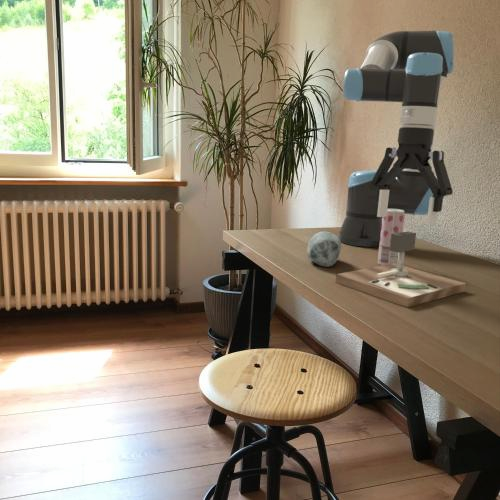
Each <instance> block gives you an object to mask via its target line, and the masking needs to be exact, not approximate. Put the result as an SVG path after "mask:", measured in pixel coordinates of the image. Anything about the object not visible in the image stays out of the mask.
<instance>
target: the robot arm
mask: <svg viewBox="0 0 500 500" xmlns="http://www.w3.org/2000/svg"><path fill="white" fill-rule="evenodd" d="M454 47H455V45H454V36H453V34H452V33H451V32H450V31H448V30H447V31H446V30H445V31H444V30H443V31H442V30H436V29H435V30H409V31H408V30H407V31H406V30H399V31H393V32H389V33H387V34H384V35H381V36H379V37H378V38H377V39H375V40H373V41H372V42H371V43H370V44H369V45H368V47H367V48H366V51H365V54H364V61H363V63H362V64H361V66H360V68H359V67H354V68H348V69H346V71H345V73H344V77H343V85H342V86H343V87H342V93H343V97H344V99H345V100H347V101H356V102H385V103H387V102H389V103H391V102H392V103H401V111H400V120H399V124H400V125H401V126H402V127H400V128H399V129H398V133H397V134H398V135H397V144H398V146H397V148H396V147H390V146H389V147H386V149H385V153H384V157H383V159H382V161H381V163H380V164H379V166H378V168H377V169H373V170H372V169H371V170H370V169H369V170H359V171H354V172H352V173H351V174H350V176H349V180H348V185H347V188H348V189H347V201H346V211H345V218H344V220H343V222H342V225H341V227H340V230H339V232H338V235H337V237H338V238H339V239H340V240H341V244H345V245H350V246H355V247H356V246H357V247H365V248H367V247H368V248H377V247H378V248H379V244H380V236H381V227H382V218H383V217H387V209H400V210H404V214H405V215H412V216H416V215H417V216H426V215H427V218H426V224H425V225H426V226H425V227H428V228H430V227H437V223H438V216H439V213H441V212H442V211H443V210H442V209H443V200H444V198H445V197H447V196H452V195H453V193H454V192H453V191H454V190H453V188H452V184H451V182H450V178H449V174H448V171H447V168H446V164H445V161H444V159H445V152H444V151H443V150H433V148H434V147H433V145H434V138H435V130H436V121H437V115H438V114H437V113H438V106H439V99H440V98H439V97H440V89H441V85H442V84H444V83H445V82H446V81H447V78H448V75H449V74H452V73H453V72H454V70H453V69H454V55H455V51H454V49H455V48H454ZM396 157H397V160H396V161H395V159H396ZM394 161H395V162H394ZM431 162H432V165H433V168H432V166H431ZM433 169H434V170H433Z"/></svg>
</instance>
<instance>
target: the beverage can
mask: <svg viewBox="0 0 500 500" xmlns="http://www.w3.org/2000/svg"><path fill="white" fill-rule="evenodd" d="M405 215H406V214H404V210H400V209H387V217H383V218H382V227H381V236H380V244H379V247H378V253H377V254H378V255H377V264H378V265H379V266H383V265H388V264H393V263H396V264H397V261H398V253H399V252H393V251H390V243H391V234H393V233H400V232H404V223H405Z"/></svg>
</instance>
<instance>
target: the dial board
mask: <svg viewBox="0 0 500 500" xmlns="http://www.w3.org/2000/svg"><path fill="white" fill-rule="evenodd" d="M393 268H397V264H396V263H393V264H388V265H383V266H382V265H379V266H373V267H368V268H363V269H357V270H352V271H346V272H342V273H341V272H339V273H337V274H336V276H335V283H336V284H339V285H342V286H345V287H347V288H351V289H354V290H356V291H359V292H363V293H366V294H368V295H370V296H373V297H377V298H379V299H381V300H385V301H388V302H390V303H394V304H395V305H400V306H401V307H404V308H409V307H414V306H417V305H421V304H425V303H429V302H432V301H435V300H439V299H442V298H446V297H450V296H453V295H458V294H460V293H464V292H466V287H467V286H466V285H467V283H466V282H463V281H459V280H456V279H453V278H448V277H445V276H442V275H438V274H435V273H431V272H427V271H423V270H421V269H416V268H413V267H410V266H406V265H403V269H405V270H407V271H408V276H407V277H397V276H393V275H387V276H382V277H377V276H376V274H377V273H382V272H387V271H391V269H393Z"/></svg>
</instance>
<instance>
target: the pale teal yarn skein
mask: <svg viewBox="0 0 500 500" xmlns="http://www.w3.org/2000/svg"><path fill="white" fill-rule="evenodd" d="M341 249H342V242H341V240H340V239H339V238H338V235H336V234H334V233H333V232H330V231H319V232H317V233H315V234H313V236H312V237H311V238H310V240H309V242H308V244H307V248H306V254H307V256H308V257H309V259H310V260H311V261H312V262H313V263H315V264H317V265H318V266H321V267H324V268H327V267H328V268H329V267H332V266H334V264H335V263H336V262H337V261H338V259H339V258H340V253H341Z"/></svg>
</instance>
